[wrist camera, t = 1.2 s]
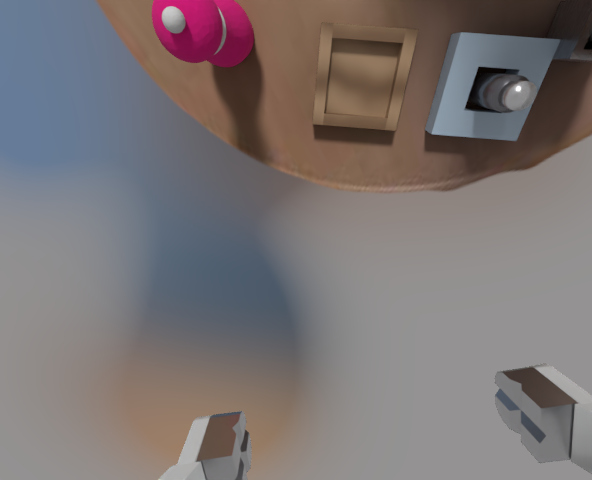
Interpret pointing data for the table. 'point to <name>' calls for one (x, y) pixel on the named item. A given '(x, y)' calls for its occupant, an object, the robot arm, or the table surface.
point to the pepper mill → (204, 30)
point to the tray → (362, 75)
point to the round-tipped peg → (502, 92)
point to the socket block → (461, 73)
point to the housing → (572, 31)
